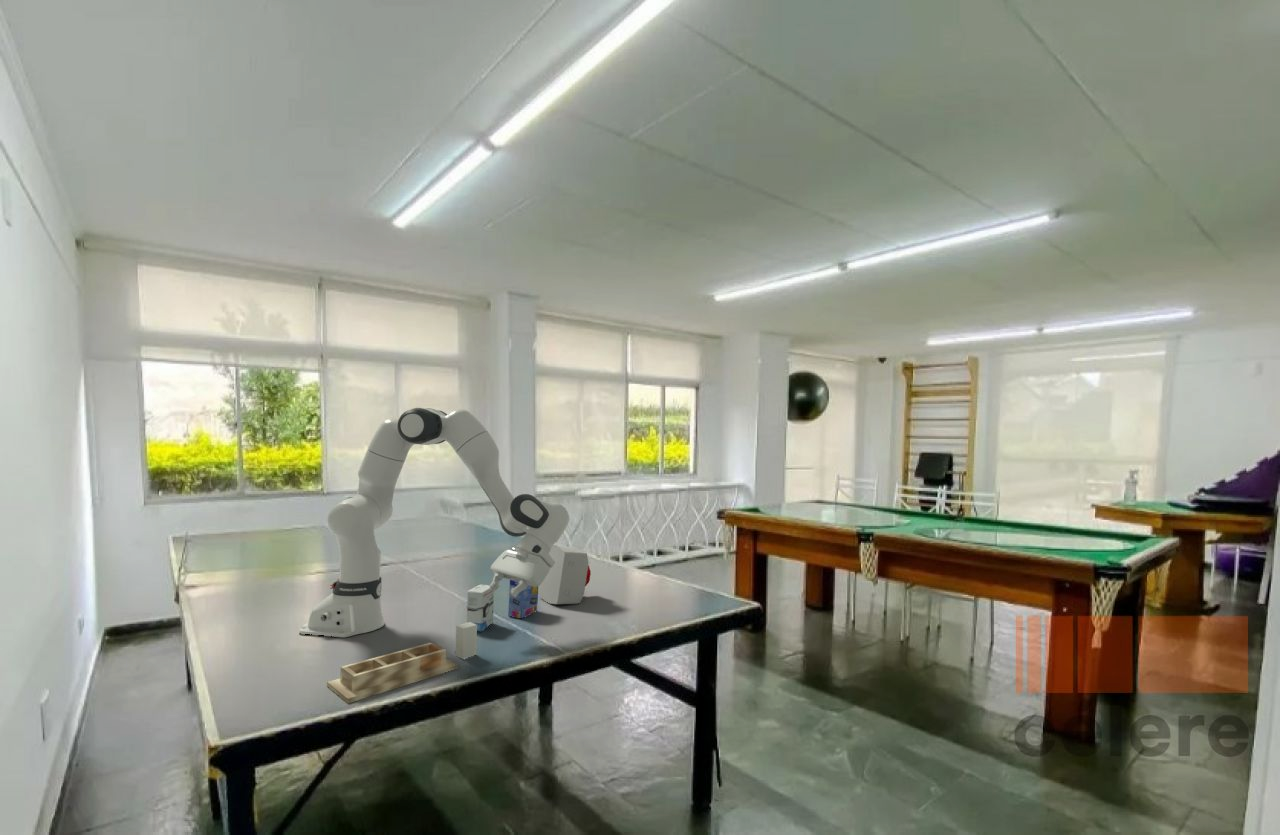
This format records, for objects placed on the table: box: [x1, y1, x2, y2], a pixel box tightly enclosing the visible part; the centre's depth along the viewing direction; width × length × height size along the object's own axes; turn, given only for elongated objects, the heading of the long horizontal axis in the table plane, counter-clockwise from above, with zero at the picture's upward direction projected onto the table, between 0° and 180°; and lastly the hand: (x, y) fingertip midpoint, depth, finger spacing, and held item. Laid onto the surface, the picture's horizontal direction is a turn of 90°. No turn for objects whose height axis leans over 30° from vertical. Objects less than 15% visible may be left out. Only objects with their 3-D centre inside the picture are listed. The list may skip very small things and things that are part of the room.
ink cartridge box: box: [507, 580, 539, 619], centre depth 188 cm, size 10×6×14 cm, turn 158°
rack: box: [326, 642, 458, 704], centre depth 137 cm, size 26×12×4 cm, turn 138°
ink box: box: [466, 584, 495, 632], centre depth 174 cm, size 8×5×12 cm, turn 168°
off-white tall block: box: [455, 622, 478, 660], centre depth 152 cm, size 4×4×8 cm
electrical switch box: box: [538, 544, 591, 605], centre depth 206 cm, size 15×15×20 cm
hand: (501, 592), depth 160 cm, fingers open, 8 cm apart
